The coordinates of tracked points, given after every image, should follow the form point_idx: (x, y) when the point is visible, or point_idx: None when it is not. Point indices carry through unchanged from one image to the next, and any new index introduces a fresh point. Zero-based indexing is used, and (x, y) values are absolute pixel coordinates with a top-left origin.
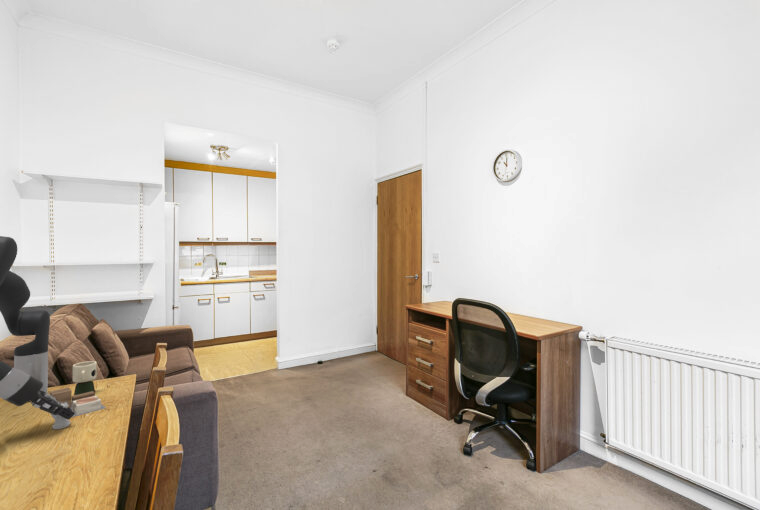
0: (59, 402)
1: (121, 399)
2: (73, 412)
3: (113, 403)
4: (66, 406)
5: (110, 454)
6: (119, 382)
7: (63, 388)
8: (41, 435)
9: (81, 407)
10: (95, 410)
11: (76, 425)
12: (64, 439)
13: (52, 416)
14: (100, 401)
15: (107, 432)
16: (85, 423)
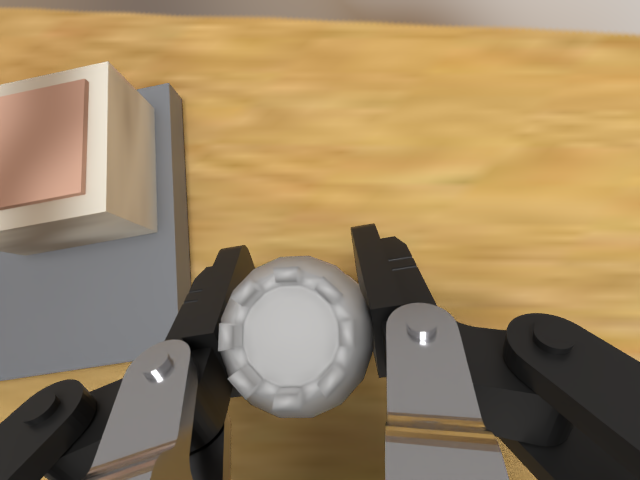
0: (181, 365)
1: (42, 32)
2: (373, 229)
3: (73, 66)
4: (344, 280)
5: None
6: None
7: None
8: (328, 436)
9: (124, 190)
10: (163, 135)
11: (300, 242)
12: (519, 308)
13: (49, 373)
14: (118, 72)
15: (565, 96)
16: (304, 197)
